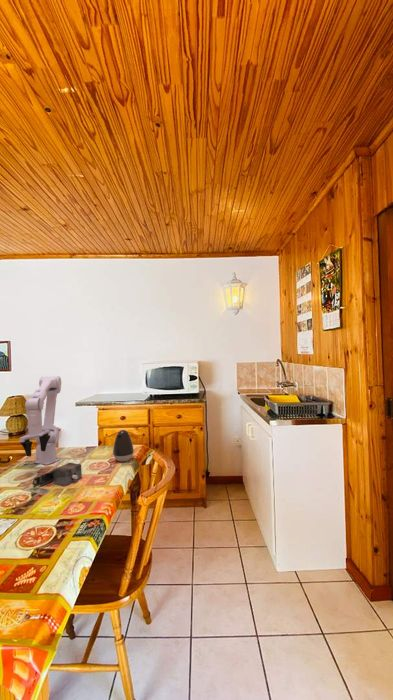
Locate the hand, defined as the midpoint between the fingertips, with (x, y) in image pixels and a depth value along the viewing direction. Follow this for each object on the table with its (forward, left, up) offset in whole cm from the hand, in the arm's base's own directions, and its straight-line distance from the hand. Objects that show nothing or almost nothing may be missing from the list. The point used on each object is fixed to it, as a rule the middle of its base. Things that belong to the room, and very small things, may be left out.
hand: (36, 453), depth 147 cm
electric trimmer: (+11, -2, -10) cm, 15 cm away
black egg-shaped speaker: (+27, +29, -10) cm, 41 cm away
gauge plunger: (+20, -3, -9) cm, 22 cm away
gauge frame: (+17, -6, -9) cm, 20 cm away
